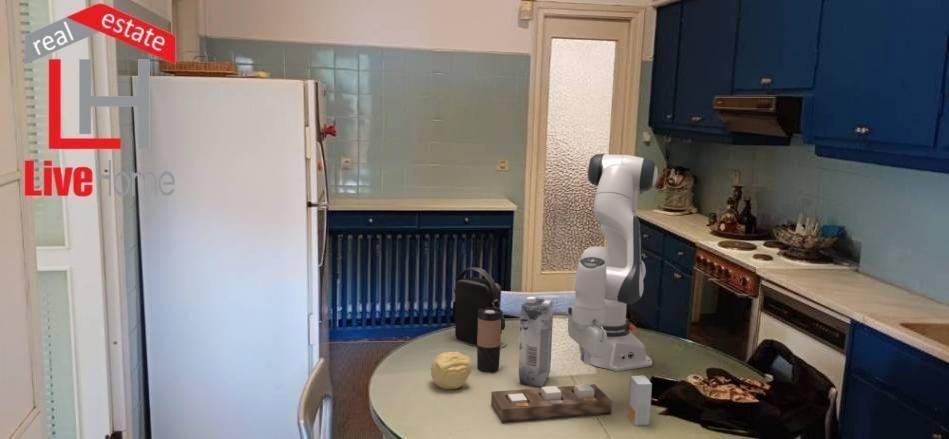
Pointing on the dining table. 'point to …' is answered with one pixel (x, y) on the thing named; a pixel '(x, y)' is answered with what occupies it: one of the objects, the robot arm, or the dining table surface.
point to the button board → (549, 405)
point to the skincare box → (640, 400)
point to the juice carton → (535, 341)
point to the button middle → (550, 393)
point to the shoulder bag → (473, 305)
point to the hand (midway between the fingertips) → (585, 362)
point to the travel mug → (488, 339)
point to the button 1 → (517, 398)
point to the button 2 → (583, 391)
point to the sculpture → (450, 370)
